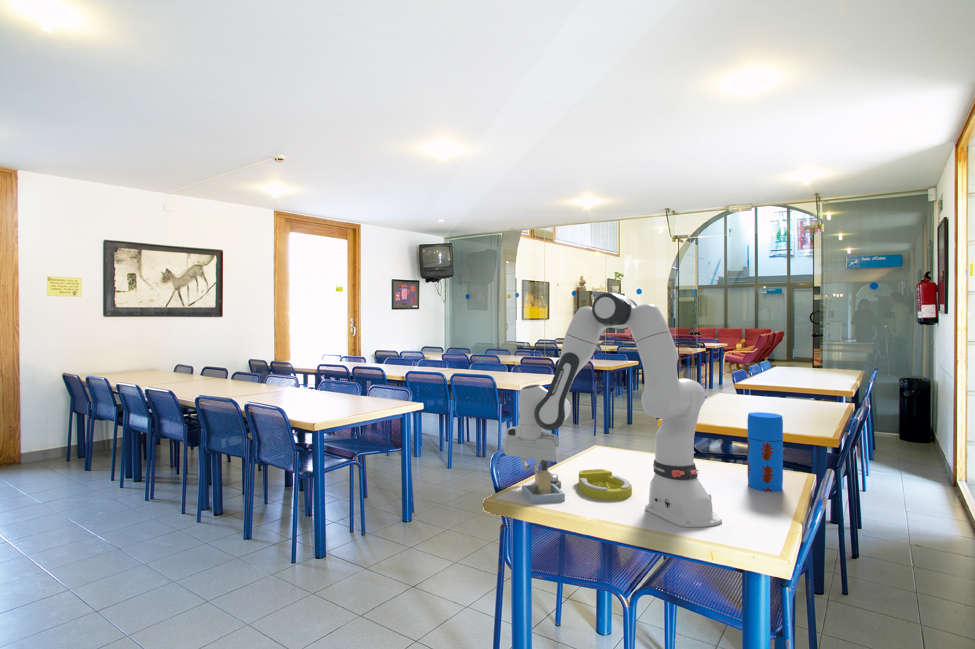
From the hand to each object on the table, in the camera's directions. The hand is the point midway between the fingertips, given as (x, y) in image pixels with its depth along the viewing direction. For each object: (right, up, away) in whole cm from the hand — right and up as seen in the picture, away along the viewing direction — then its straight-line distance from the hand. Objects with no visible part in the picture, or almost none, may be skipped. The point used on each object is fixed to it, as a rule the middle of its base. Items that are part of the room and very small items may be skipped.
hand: (531, 470), depth 186 cm
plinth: (+2, -5, -5) cm, 7 cm away
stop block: (+3, -5, -14) cm, 15 cm away
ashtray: (+24, -6, -7) cm, 25 cm away
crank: (+6, -3, -1) cm, 7 cm away
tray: (+3, -5, -14) cm, 15 cm away
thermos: (+80, -5, -3) cm, 80 cm away
